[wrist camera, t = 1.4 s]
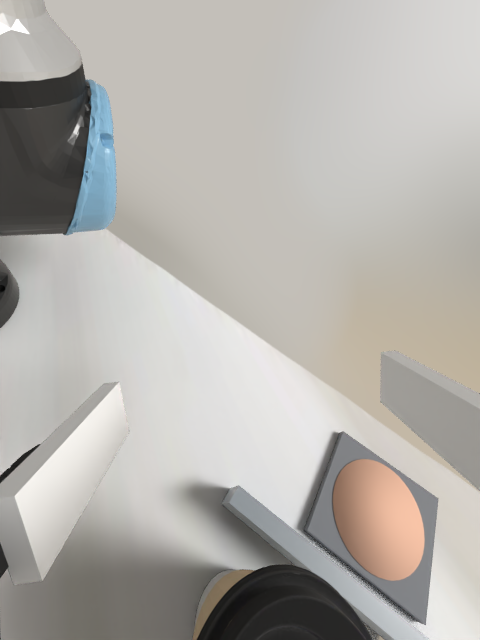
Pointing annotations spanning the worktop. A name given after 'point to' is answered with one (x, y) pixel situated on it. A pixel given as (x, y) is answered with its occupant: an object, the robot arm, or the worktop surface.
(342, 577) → the blue-grey rectangular bar
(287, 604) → the coffee cup
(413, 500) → the mat
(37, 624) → the worktop surface
